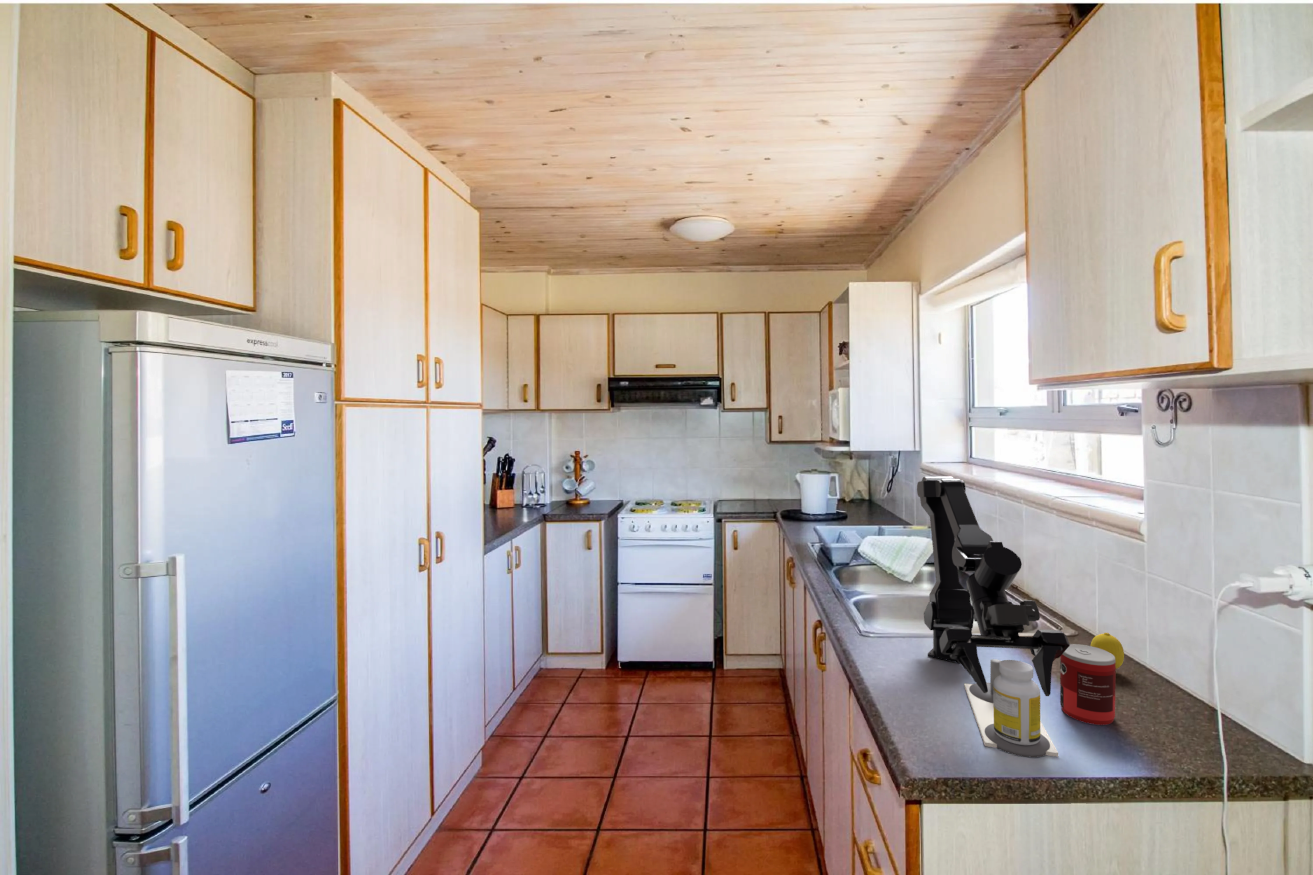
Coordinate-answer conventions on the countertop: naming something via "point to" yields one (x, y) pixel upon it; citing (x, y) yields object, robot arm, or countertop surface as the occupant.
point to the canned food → (1088, 684)
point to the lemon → (1109, 646)
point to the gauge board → (985, 721)
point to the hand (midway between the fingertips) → (1016, 693)
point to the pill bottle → (1016, 703)
